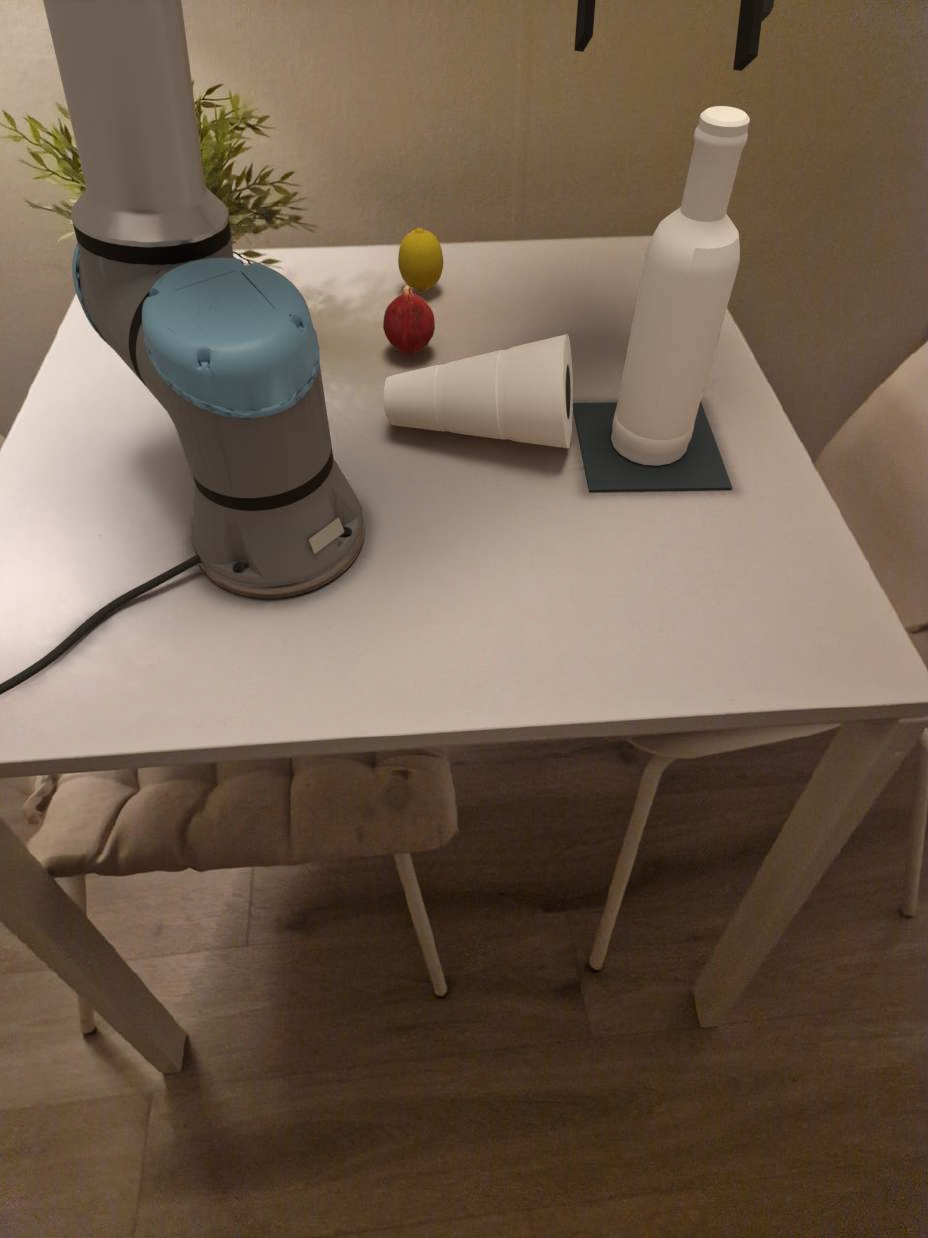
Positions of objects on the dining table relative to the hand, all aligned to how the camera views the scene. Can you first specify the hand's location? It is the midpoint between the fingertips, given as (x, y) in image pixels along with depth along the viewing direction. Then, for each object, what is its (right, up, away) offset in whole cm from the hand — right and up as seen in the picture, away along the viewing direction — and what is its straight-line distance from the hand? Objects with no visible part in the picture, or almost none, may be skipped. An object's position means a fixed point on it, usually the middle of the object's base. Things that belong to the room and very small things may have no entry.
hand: (665, 53), depth 64 cm
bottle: (+3, -27, +18) cm, 33 cm away
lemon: (-22, -4, +37) cm, 43 cm away
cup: (-24, -23, +17) cm, 37 cm away
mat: (+3, -27, +18) cm, 33 cm away
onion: (-22, -15, +28) cm, 39 cm away
